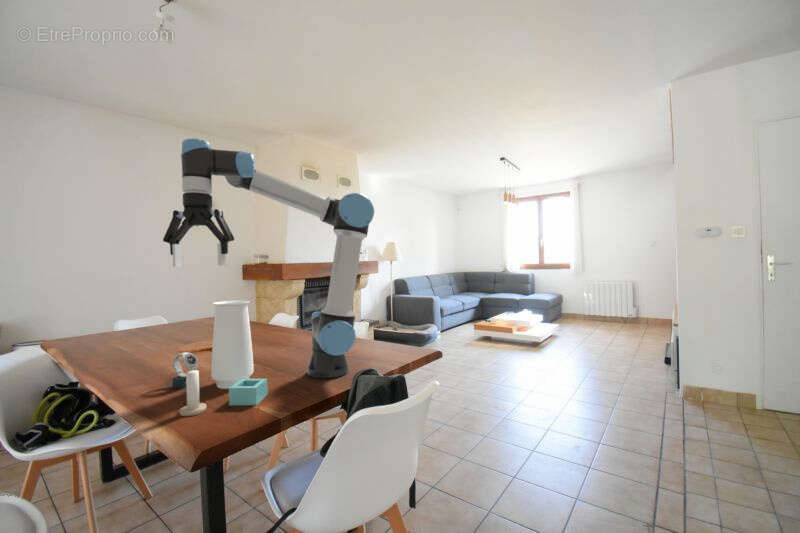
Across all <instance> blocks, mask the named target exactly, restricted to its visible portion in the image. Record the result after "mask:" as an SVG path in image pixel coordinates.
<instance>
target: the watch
mask: <svg viewBox="0 0 800 533" xmlns="http://www.w3.org/2000/svg"><path fill="white" fill-rule="evenodd" d="M180 357H181V358H182V364H183V366H184V367H186V368H187V371H193V370H197V368H198V364H199V360H198V359H199V358H198V357H197V355H195V354H194V353H191V352H188V351H185V352H181V353H177V354H175V356H174V357H173V360H172V368H173V370H174V372H175V374H176V375H178V376H175V377H172V389H174V388H175V389H185V388H186V389H187V384H186V373H185V372H184V370H183V367H182V366H181V365H182V364H181V363H180Z"/></svg>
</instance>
